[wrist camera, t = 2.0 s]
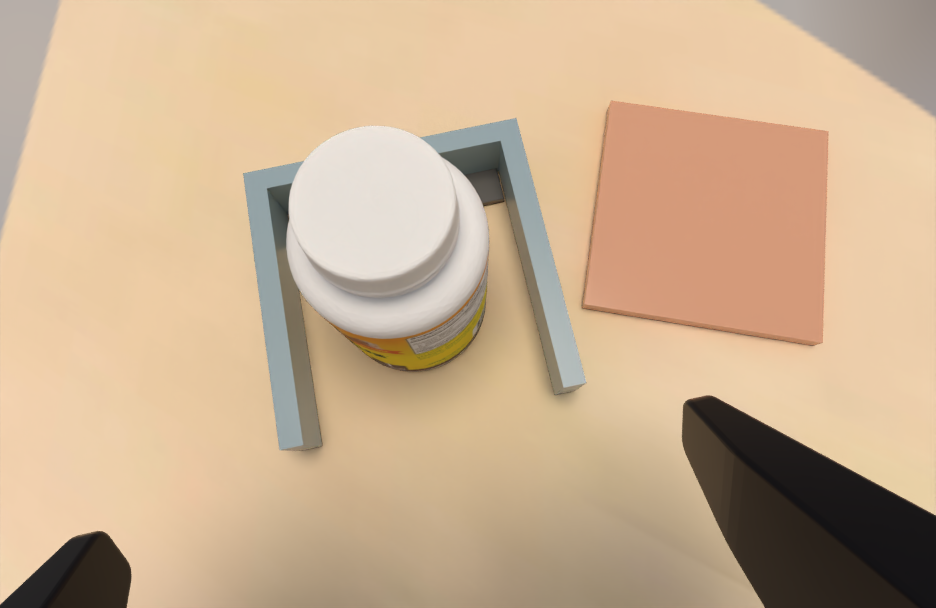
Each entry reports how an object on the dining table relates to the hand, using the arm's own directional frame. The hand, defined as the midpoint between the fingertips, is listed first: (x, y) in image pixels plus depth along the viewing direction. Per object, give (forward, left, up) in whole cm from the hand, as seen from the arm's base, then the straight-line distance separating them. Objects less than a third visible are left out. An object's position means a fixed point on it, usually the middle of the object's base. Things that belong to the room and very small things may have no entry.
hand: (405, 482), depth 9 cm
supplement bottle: (+6, +2, -14) cm, 15 cm away
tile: (+11, -9, -13) cm, 20 cm away
